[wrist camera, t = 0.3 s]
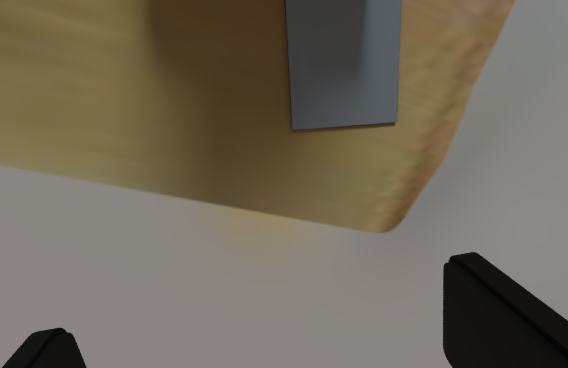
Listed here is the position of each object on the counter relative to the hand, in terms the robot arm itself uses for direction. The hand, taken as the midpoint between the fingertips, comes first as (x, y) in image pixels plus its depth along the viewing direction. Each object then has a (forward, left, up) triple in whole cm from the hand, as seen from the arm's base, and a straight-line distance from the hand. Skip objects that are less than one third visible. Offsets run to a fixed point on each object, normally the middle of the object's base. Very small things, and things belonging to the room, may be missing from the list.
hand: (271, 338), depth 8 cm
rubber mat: (-8, +10, -31) cm, 33 cm away
